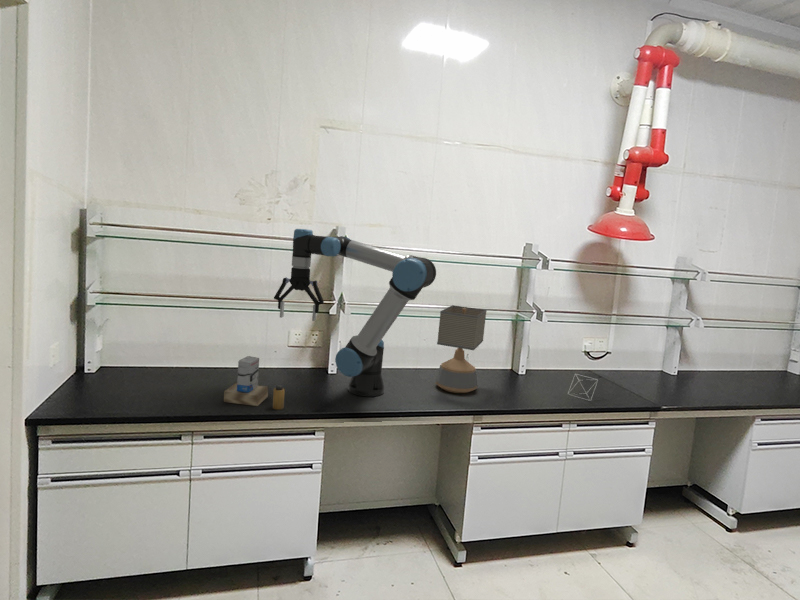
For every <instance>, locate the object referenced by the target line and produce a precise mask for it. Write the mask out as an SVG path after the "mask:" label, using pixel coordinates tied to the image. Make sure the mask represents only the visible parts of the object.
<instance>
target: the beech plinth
mask: <svg viewBox="0 0 800 600" xmlns="http://www.w3.org/2000/svg"><path fill="white" fill-rule="evenodd" d="M268 396H269V386H265V385H258V387H256V388H255V389H253V390H252V391H250V392H249V393H247V392H240V391H237V382H235V383H234V384H232V385H231V386H229V387H228V388H227V389H225V390H223V402H224V403H232V404H239V405H248V406H254V407H258V406H259V405H260V404H261V403H262V402H263V401H265V400H266V399H268Z"/></svg>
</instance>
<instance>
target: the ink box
mask: <svg viewBox="0 0 800 600" xmlns="http://www.w3.org/2000/svg"><path fill="white" fill-rule="evenodd" d="M237 363H238V364H237V381H236V383H237V391H240V392H247V393H249V392H250V391H252V390H253V389H255V388H256V387H258V386H259V370H260V369H259V368H260V357H256V356H251V355H247V356H245V357H243V358H241V359H238V362H237Z"/></svg>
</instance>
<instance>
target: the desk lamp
mask: <svg viewBox="0 0 800 600" xmlns="http://www.w3.org/2000/svg"><path fill="white" fill-rule="evenodd" d="M439 313H440V314H439V323H438V331H437V333H438V334H437V341H436V345H438V346H439V345H440V346H443V347H445V346H446V347H451V348H457V349H455V350H454V355H453V358H450V359H448V360H446V361H443V362H442V363H441V364H440V365H439V368H438V370H437V371H438V372H437V375H436V376H435V377H436V378H435V384H436V385H437V386H438V387H440V388H441V389H442V390H444V391H446V392H449V393H453V394H467V393H470V392H473V391H474V390H477V388H478V377H477V376H478V375H477V369H476V367H475V366H474V365H473V364H471V363H470V362H469V361H468V360H466V359H465V357H466V356H465V350H468V351H469V350H470V351H475V350H476V349H477V348H478V347H479V346H480V345H481V344H482V343H483V342H484V336H485V335H484V334H485V326H486V318H487V317H486V316H487V309H482V308H475V307H467V306H461V305H453V304H452V305H450V306H448V307H446V308H444V309H441V311H440V312H439Z"/></svg>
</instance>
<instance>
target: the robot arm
mask: <svg viewBox="0 0 800 600" xmlns="http://www.w3.org/2000/svg"><path fill="white" fill-rule="evenodd" d="M292 237H293V238H292V254H291V255H292V256H291V266H292V267H291V272H290V278H289V277H286V276H285V277H283V278H282V283H281V284H280V286H279V287H278V289H277V291H276V293H275V295H274V296H273V299H274V300H276V301H278V302H277V303H278V304H277V309H278V310H279V318H280V319H281V318H283V317H284V316H285V315H284V312H285V300H284V299H285V298H287V296H288V295H290V293H291V292H292V291H293V290H295V291H302V292H303V291H305V292H306V294H307V295H308V297H309V298H310V300H311V301H312V302H313V303H314V304H313V306H312V319H311V320H312V322H315V321H316V320H317V314H318V313H319V311H320V310H319V309H320V305H323V304H325V301H324V298H323V296H322V294H321V291H320V288H319V287H318V280H311V278H310V277H311V268H310V267H311V266H312V265H311V263H312V261H311V260H312V255H319V256H325V257H337V256H341V257H345V258H347V259H351V260H354V261H356V262H361V263H363V264H367V265H370V266H373V267H377V268H379V269H383V270H386V271H388V272H391V273H392V274H391V275H392V277H391V278H390V280H389V282H388V284H389V289H387V292H386V293H385V295H384V296H383V297H382V299H381V301H380V302H379V303H378V305H377V307H376V308H375V309H374V310H373V312H372V314H371V315H370V317H369V318H368V320H367V321H366V322H365V324H364V325H363V326H362V329H361V330H360V331H359V333H358V334H357V335H352V337H351V338H350V339H349V340H348V342H347V344H346V345H345V346H344V347H342V348H341V349H340V350H338V351H337V353H336V354H335V358H334V359H335V360H334V362H335V367H336V368H337V370H338V371H339V372H340V373H341V374H342V375H343V376H344V377H345V376H346V377H349V378H350V380H349V383H348V392H350V394H353V395H354V396H355V395H356V396H361V397H378V396H379V397H380V396H382V395H384V393H385V385H384V379H383V376H382V370H383V360H384V350H385V341H384V340H383V338H384V337H385V335H386V334H387V333H388V331H389V329H390V328H391V327H392V326H393V324H394V322H395V321H396V320H397V318H398V317H399V315H400V314H401V312H402V311H403V310H404V308H405V306H406V305H407V304H408V302H410V301H414V300H415V299H417V296H418V295H419V294H420V293H421V291H422V290H423V288H427V287H429V286H430V285H432V284H433V282H434V281H435V279H436V276H437V269H436V265H435V264H434V263H433V261H432V260H430V259H428V258H426V257H421V256H417V255H416V256H415V255H413V254H412V255H411V254H408V255H404V254H403V255H402V254H401V253H397V252H393V251H390V250H387V249H383V248H380V247H378V246H377V247H376V246H373V245H370V244H366V243H363V242H359V241H356V240H352V239H351V238H349V237H347V236H326V235H325V236H324V235H316V234H314V232H313V230H312V229H307V228H295V229H294V230H293V236H292ZM289 283H290V287H288V289H286V291H285V292H284V293H283V291H284V289H285V287H286V286H287V284H289ZM310 285H311V286H312V288H313V291H314V293H315V294H314V293H313V292H312V290H311V288H310ZM282 293H283V294H282ZM315 295H316V296H315Z"/></svg>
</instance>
